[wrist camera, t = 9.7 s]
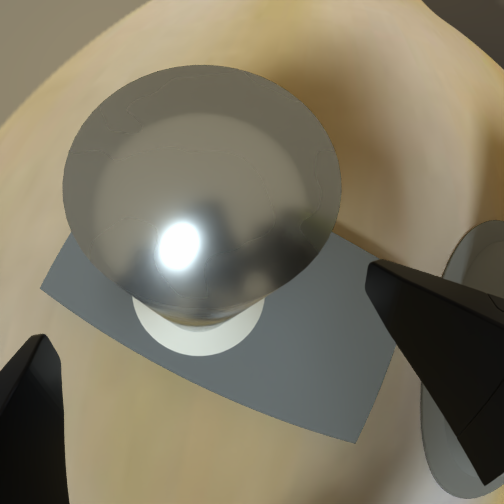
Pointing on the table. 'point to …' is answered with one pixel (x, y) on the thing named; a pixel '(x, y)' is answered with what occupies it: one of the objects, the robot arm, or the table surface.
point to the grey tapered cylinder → (432, 421)
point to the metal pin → (201, 191)
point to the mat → (258, 339)
